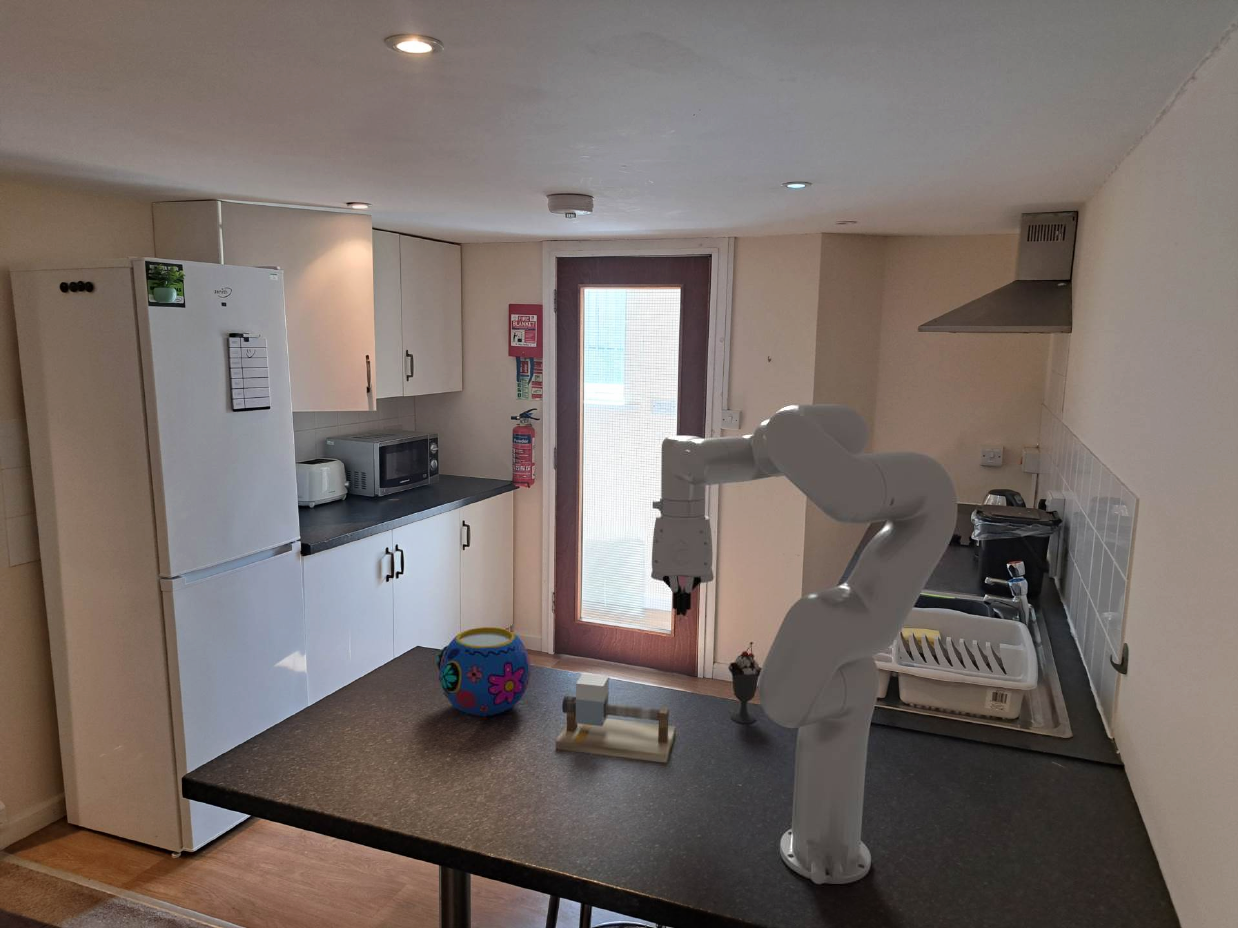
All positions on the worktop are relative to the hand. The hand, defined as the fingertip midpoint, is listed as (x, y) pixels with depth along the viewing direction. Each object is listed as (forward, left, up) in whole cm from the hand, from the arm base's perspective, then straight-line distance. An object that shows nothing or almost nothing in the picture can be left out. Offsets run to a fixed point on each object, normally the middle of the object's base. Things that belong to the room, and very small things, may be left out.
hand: (681, 612), depth 142 cm
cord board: (+2, +11, -26) cm, 29 cm away
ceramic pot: (+9, +39, -26) cm, 48 cm away
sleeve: (+2, +16, -22) cm, 28 cm away
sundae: (+18, -11, -26) cm, 33 cm away
